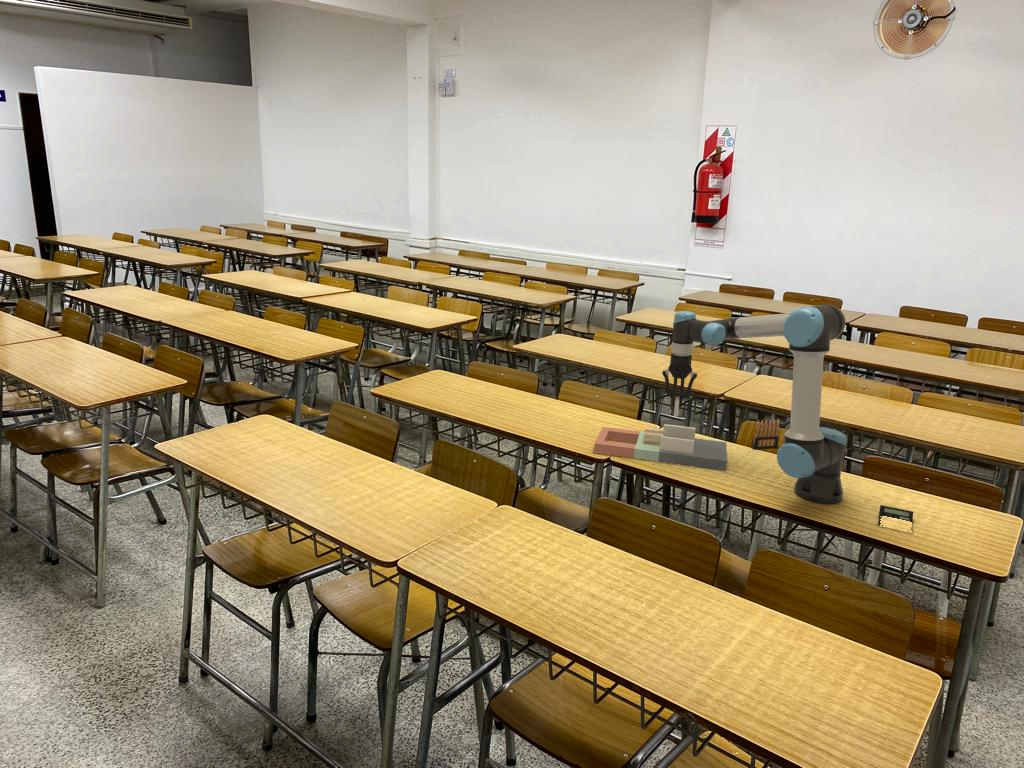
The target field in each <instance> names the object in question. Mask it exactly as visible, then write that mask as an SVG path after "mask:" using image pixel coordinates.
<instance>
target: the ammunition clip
mask: <svg viewBox="0 0 1024 768" xmlns="http://www.w3.org/2000/svg"><path fill="white" fill-rule="evenodd" d="M779 433H780V419H779V418H778V419H777V420H776V419H775V418H774V419H773V420H772V419H770V420H769V421H768V419H765V421H764V419H761V421H760V420H759V419H758V420H757V421H756V424H755V429H754V433H753V435H752V439H751V440H752V441H751V449H752V450H753V451H755V450H756V451H757V450H772V449H779V439H780V436H779Z"/></svg>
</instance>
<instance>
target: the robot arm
mask: <svg viewBox="0 0 1024 768" xmlns="http://www.w3.org/2000/svg"><path fill="white" fill-rule="evenodd" d="M846 321H847V320H846V317H845V314H844V312H843V311H842V310H841V309H840V308H838V307H837V306H835V305H832V304H818V305H812V306H811V305H810V306H803V307H802V306H801V307H800V308H797V309H794V310H792V311H791V312H788V313H787V312H786V313H777V314H775V313H774V314H766V315H751V316H742V317H728V318H722V319H715V320H701V319H697V317H696V313H695V312H694V311H693V312H692V311H688V310H687V311H686V310H680V311H677V312H675V313H674V317H673V322H672V323H673V324H672V340H671V348H670V349H671V350H670V352H671V354H670V362H669V366H668V368H667V369H663V370H662V372H661V374H662V376H663V377H664V382H665V388H666V395H667V397H669V398H671V407H672V408H673V407H674V410H673V417H679V410H680V408H682V407H683V401H684V399H688V397H689V395H690V392H691V389H692V387H693V384H694V382H695V380H696V378H697V377H698V372H695V371H693V368H692V360H693V359H692V357H693V356H692V354H693V348H694V341H695V342H699V343H703V344H708V345H714V346H717V345H718V346H719V345H720V344H722V342H724V341H725V340H726V341H727V340H736V339H737V340H739V339H751V338H753V339H755V338H770V337H772V338H773V337H784V339H785V340H786V342H787V343H788V351H789V352H791V353H792V355H793V367H792V368H793V370H792V388H791V404H790V405H791V406H790V407H791V408H790V423H789V424H790V425H789V429H788V430H786V431H785V432H784V441H783V444H782V445H781V446H780V447H778V450H777V451H776V461H777V464H778V467H779V468H780V470H782V471H783V472H784V474H786V475H787V476H788V477H790V478H794V479H796V481H795V483H794V488H793V492H794V494H796V495H797V496H798V497H800V498H802V499H804V500H806V501H809V502H812V503H817V504H822V505H823V504H825V505H833V504H838V502H839V503H840V502H842V500H843V496H844V490H843V486H842V485H843V484H842V479H841V474H842V469H843V462H844V458H845V453H846V447H847V435H846V434H845V433H843V432H842V431H839V430H836V429H833V428H829V427H822V426H820V424H821V423H820V422H821V406H822V392H823V391H822V389H823V374H824V373H823V371H824V361H825V360H824V358H825V355H826V354H828V353H829V352H830V348H831V347H830V346H831V341H833V340H835V339H837V338H838V337H840V336H841V334H842V333H843V332H844V330H845V328H846ZM669 374H671V376H672V378H673V386H672V391H671V384H670V378H669ZM688 376H690V380H689V382H688V385H687V388H686V390H684V389H685V379H686V378H687V377H688ZM678 379H679V380H680V386H679V387H680V389H679V397H677V389H678V388H677V387H678ZM684 391H685V393H684Z"/></svg>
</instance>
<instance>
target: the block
mask: <svg viewBox="0 0 1024 768" xmlns="http://www.w3.org/2000/svg"><path fill="white" fill-rule="evenodd" d="M643 432H644V440H643V444H651V445H659V446H660V442H661V436H664V430H663V429H660V428H659V429H658V428H652V427H651V428H650V427H645V429H644V431H643Z"/></svg>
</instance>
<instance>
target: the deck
mask: <svg viewBox="0 0 1024 768" xmlns="http://www.w3.org/2000/svg"><path fill="white" fill-rule="evenodd" d="M696 429H697V427H690V426H683V425H674V424H663V429H662V430H664V436H661V442H660V446H659V445H651V444H643V440H644V432H645V431H641V430H640V431H639V430H633V429H632V430H631V429H623V428H616V427H610V426H609V427H608V426H602V428H601V430H600V432H599V434H598V436H597V438H596V440H595V441H594V449H593V453H594V452H599V453H603V454H609V455H608V456H610V455H613V456H612V457H618V456H622V457H621V458H625V457H629V458H628V459H632V458H635V459H634V460H640V459H644V460H643V461H647V460H650V461H649V462H655V461H658V462H657V463H662V462H667V463H666V464H669V463H673V464H672V465H677V464H680V465H679V466H684V465H685V467H691V466H693V467H692V468H701V469H706V468H707V469H708V470H714V471H715V470H716V471H722V472H726V471H727V462H728V461H727V460H728V459H727V455H728V453H727V452H728V451H727V441H720V440H719V441H718V440H713V439H712V440H711V439H704V438H696ZM610 440H612V441H610ZM618 441H620V442H618ZM625 442H628V443H625ZM633 443H635V444H633ZM603 454H602V455H603Z"/></svg>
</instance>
